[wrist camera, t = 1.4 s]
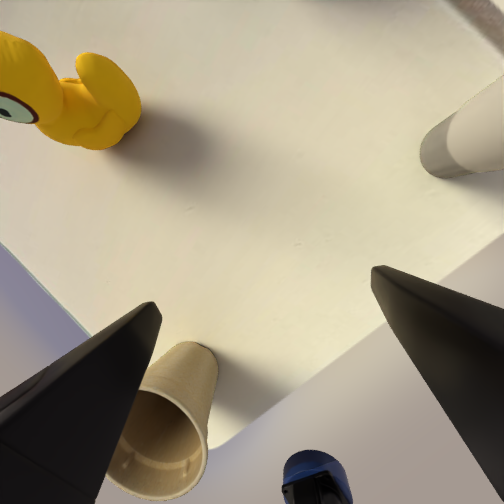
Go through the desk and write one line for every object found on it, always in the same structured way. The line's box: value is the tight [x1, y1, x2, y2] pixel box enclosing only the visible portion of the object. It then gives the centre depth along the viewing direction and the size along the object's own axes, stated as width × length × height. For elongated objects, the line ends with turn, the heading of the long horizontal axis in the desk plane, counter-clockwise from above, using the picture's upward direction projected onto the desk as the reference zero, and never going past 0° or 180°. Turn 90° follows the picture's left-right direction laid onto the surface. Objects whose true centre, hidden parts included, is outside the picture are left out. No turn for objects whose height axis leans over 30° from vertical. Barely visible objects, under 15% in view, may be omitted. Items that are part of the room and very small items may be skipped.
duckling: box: [0, 31, 141, 150], centre depth 16 cm, size 11×5×10 cm, turn 105°
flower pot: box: [105, 342, 218, 501], centre depth 19 cm, size 9×9×9 cm
